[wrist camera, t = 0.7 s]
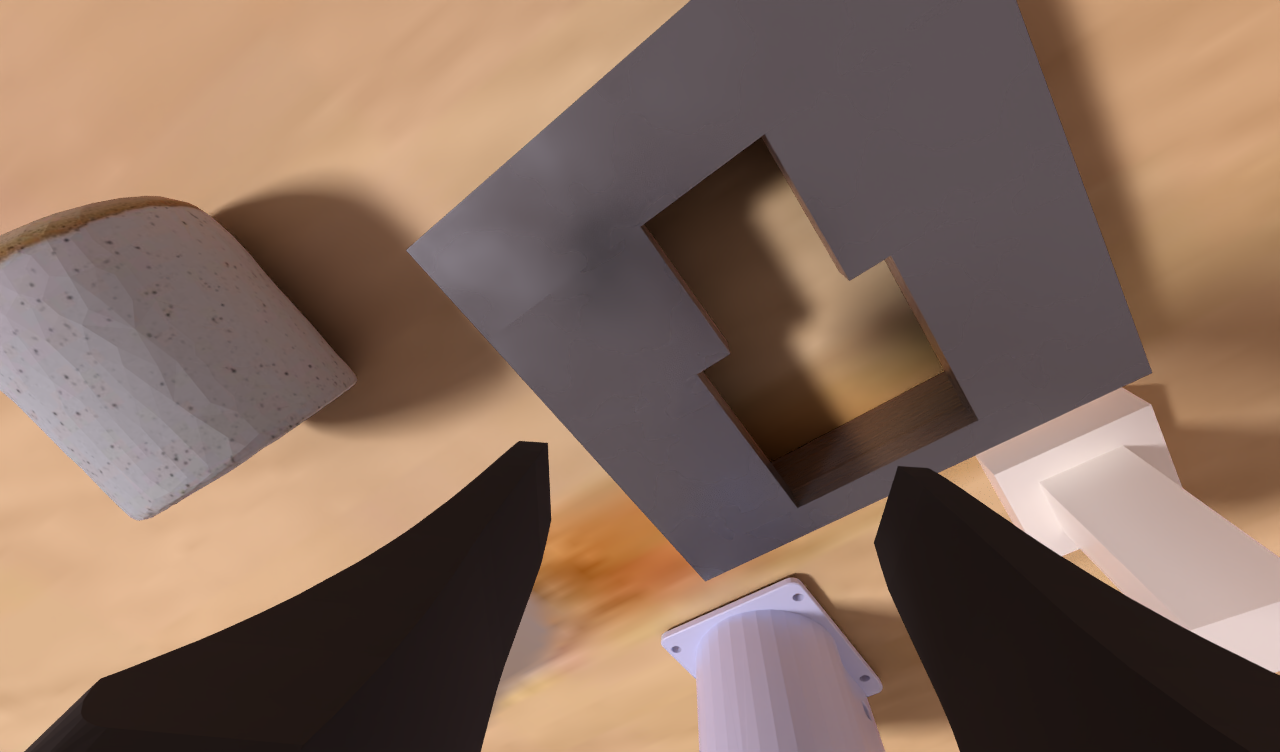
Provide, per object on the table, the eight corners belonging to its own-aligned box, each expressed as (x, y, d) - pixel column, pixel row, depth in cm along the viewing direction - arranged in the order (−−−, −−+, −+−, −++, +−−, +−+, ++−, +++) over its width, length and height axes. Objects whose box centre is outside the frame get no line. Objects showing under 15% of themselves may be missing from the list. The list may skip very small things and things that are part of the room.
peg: (1157, 482, 21) (1401, 663, 14) (1020, 537, 23) (1178, 725, 16) (1118, 384, 20) (1376, 535, 12) (973, 452, 21) (1127, 620, 14)
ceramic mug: (234, 167, 18) (-45, 197, 11) (395, 355, 21) (253, 472, 14) (70, 311, 21) (-228, 406, 14) (230, 458, 24) (47, 595, 17)
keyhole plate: (1071, 331, 19) (1152, 373, 16) (700, 520, 24) (705, 581, 20) (875, -138, 14) (937, -217, 10) (451, 228, 18) (406, 250, 15)
